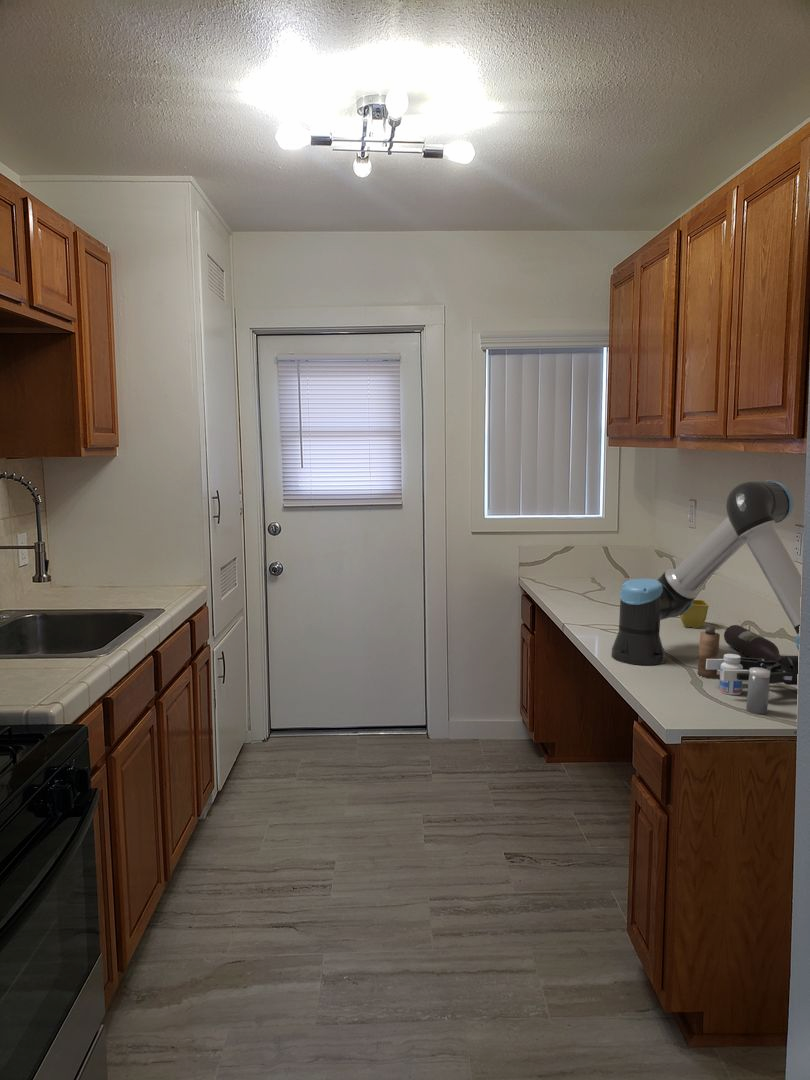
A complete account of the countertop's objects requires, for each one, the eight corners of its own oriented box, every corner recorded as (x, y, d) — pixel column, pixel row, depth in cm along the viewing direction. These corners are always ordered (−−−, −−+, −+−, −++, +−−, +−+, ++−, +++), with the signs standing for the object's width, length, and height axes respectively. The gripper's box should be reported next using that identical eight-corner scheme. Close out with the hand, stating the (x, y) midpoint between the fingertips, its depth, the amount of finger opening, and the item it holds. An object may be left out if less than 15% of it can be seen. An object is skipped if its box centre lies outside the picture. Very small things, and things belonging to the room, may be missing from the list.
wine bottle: (748, 631, 244) (800, 657, 214) (737, 649, 244) (787, 678, 214) (730, 620, 243) (780, 645, 213) (719, 639, 244) (767, 666, 214)
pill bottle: (740, 690, 199) (743, 654, 198) (742, 696, 194) (745, 659, 193) (718, 687, 201) (720, 652, 200) (719, 694, 196) (722, 657, 195)
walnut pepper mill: (699, 677, 209) (703, 629, 208) (695, 672, 214) (698, 625, 212) (718, 679, 209) (722, 630, 207) (714, 673, 214) (717, 626, 212)
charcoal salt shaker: (749, 713, 182) (752, 672, 180) (743, 707, 186) (746, 666, 185) (769, 714, 181) (773, 673, 180) (763, 708, 186) (766, 668, 184)
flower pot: (707, 630, 264) (708, 605, 263) (680, 628, 266) (682, 603, 265) (702, 624, 273) (704, 600, 272) (676, 623, 274) (678, 598, 273)
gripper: (822, 698, 187) (733, 697, 186) (776, 671, 209) (696, 671, 208) (825, 668, 186) (735, 667, 185) (778, 645, 208) (698, 644, 207)
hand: (714, 669), depth 197 cm, fingers open, 9 cm apart
